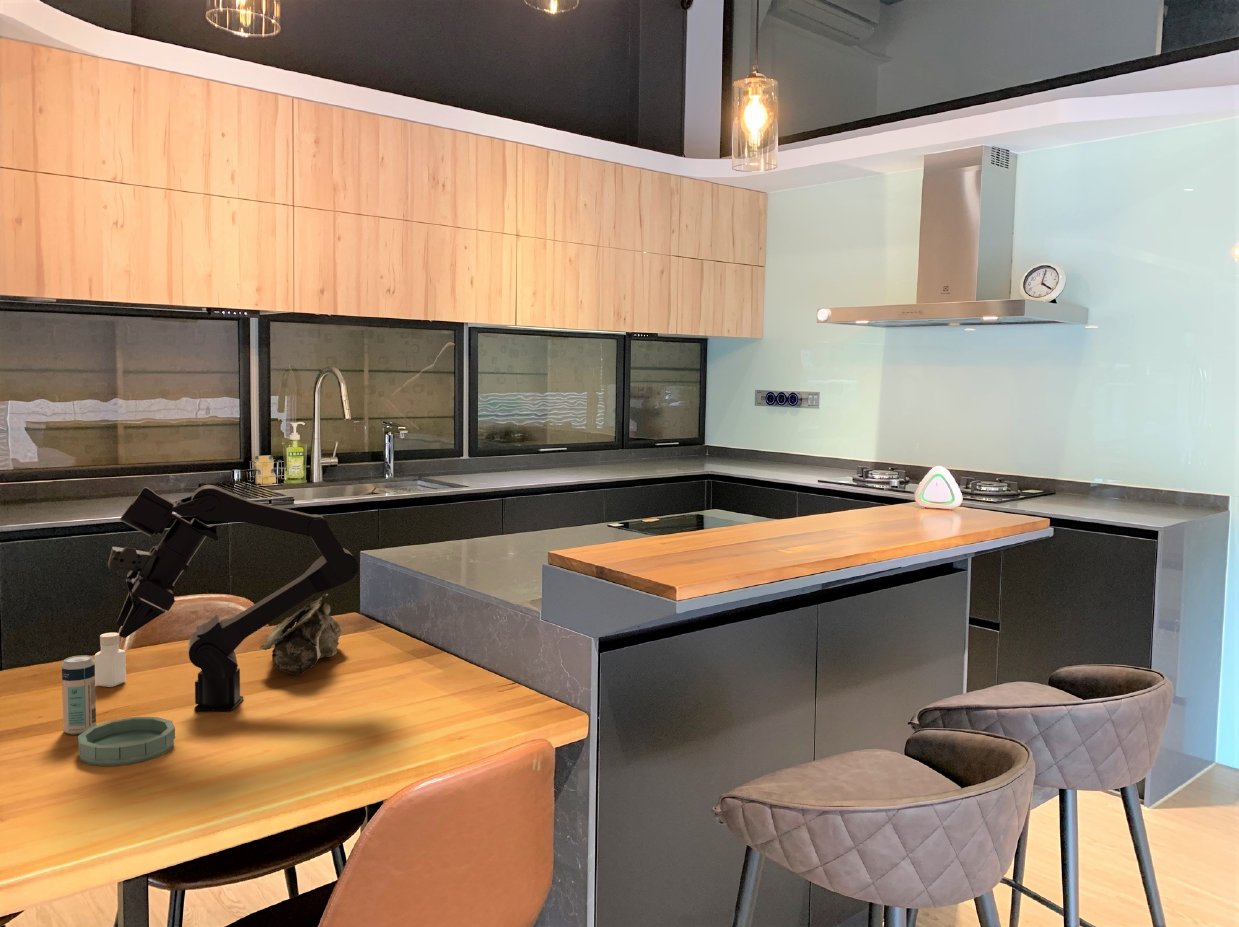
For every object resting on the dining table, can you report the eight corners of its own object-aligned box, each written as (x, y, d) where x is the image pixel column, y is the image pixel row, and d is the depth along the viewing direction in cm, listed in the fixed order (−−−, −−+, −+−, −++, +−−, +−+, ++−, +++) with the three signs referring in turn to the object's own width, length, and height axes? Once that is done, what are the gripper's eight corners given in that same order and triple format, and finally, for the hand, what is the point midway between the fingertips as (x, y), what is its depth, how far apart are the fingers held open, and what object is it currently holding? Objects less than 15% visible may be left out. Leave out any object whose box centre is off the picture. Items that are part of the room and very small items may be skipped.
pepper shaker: (112, 688, 173) (111, 638, 172) (93, 686, 174) (92, 636, 173) (127, 681, 177) (126, 632, 176) (109, 680, 178) (108, 631, 177)
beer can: (89, 723, 156) (87, 652, 155) (101, 730, 153) (100, 658, 152) (57, 731, 152) (56, 658, 151) (69, 738, 149) (67, 664, 148)
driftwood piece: (289, 707, 179) (344, 652, 178) (239, 663, 177) (294, 607, 177) (323, 660, 207) (371, 613, 206) (280, 621, 205) (328, 573, 204)
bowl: (186, 733, 152) (186, 716, 152) (153, 765, 139) (152, 747, 139) (104, 733, 151) (103, 717, 151) (62, 766, 138) (61, 748, 138)
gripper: (128, 520, 165) (73, 597, 161) (134, 533, 149) (73, 620, 145) (186, 551, 170) (134, 627, 166) (198, 567, 154) (141, 652, 150)
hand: (120, 630), depth 157 cm, fingers open, 9 cm apart
